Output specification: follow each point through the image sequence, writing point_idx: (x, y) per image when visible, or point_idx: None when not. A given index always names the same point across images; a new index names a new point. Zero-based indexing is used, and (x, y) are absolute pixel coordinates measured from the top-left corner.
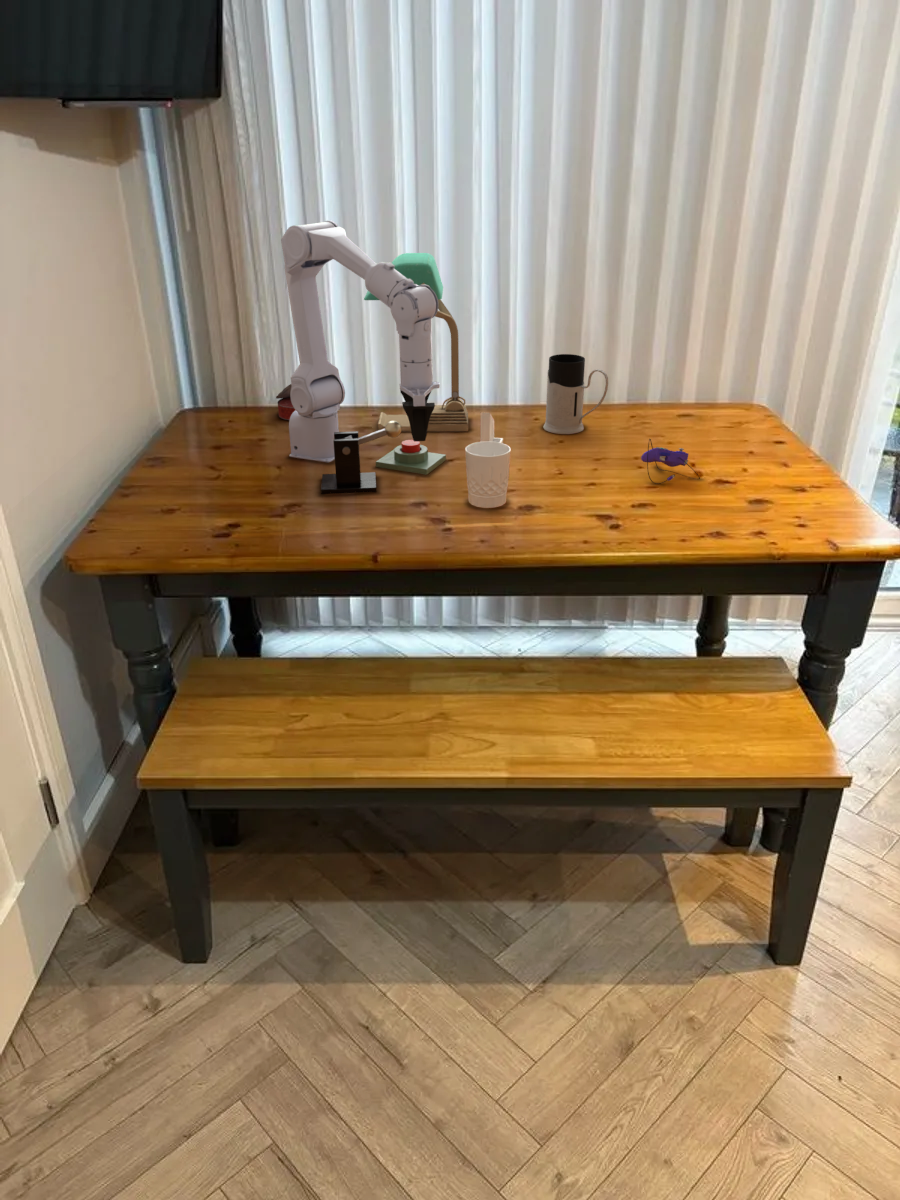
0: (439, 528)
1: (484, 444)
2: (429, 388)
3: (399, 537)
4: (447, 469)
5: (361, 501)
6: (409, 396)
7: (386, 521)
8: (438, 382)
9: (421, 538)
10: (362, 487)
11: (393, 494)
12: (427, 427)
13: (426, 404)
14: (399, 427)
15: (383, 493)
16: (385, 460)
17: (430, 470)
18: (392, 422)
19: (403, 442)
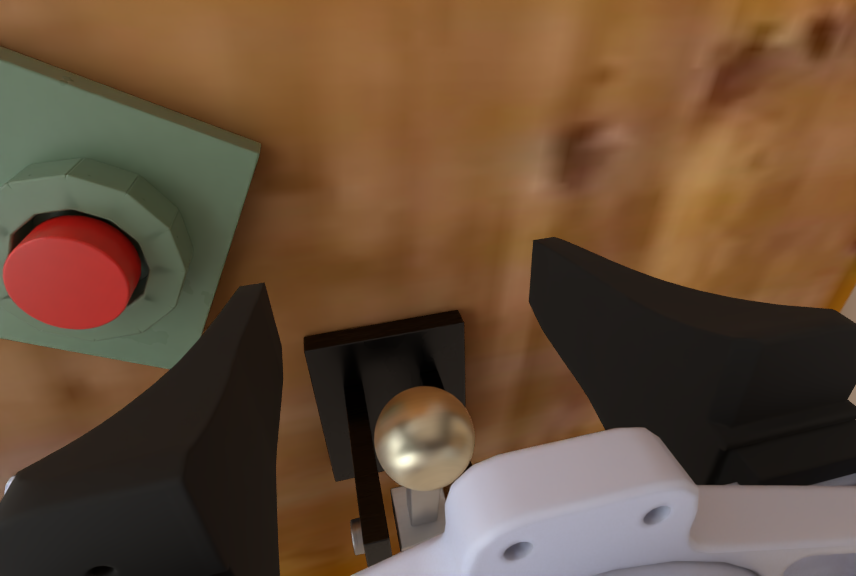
0: (798, 68)
1: None
2: (841, 543)
3: (800, 197)
4: (131, 30)
5: (515, 338)
6: (268, 567)
7: (681, 247)
8: (534, 524)
9: (838, 129)
10: (459, 361)
11: (468, 255)
12: (625, 267)
13: (788, 403)
14: (453, 417)
15: (455, 288)
16: (165, 342)
17: (216, 130)
18: (454, 473)
19: (78, 321)
